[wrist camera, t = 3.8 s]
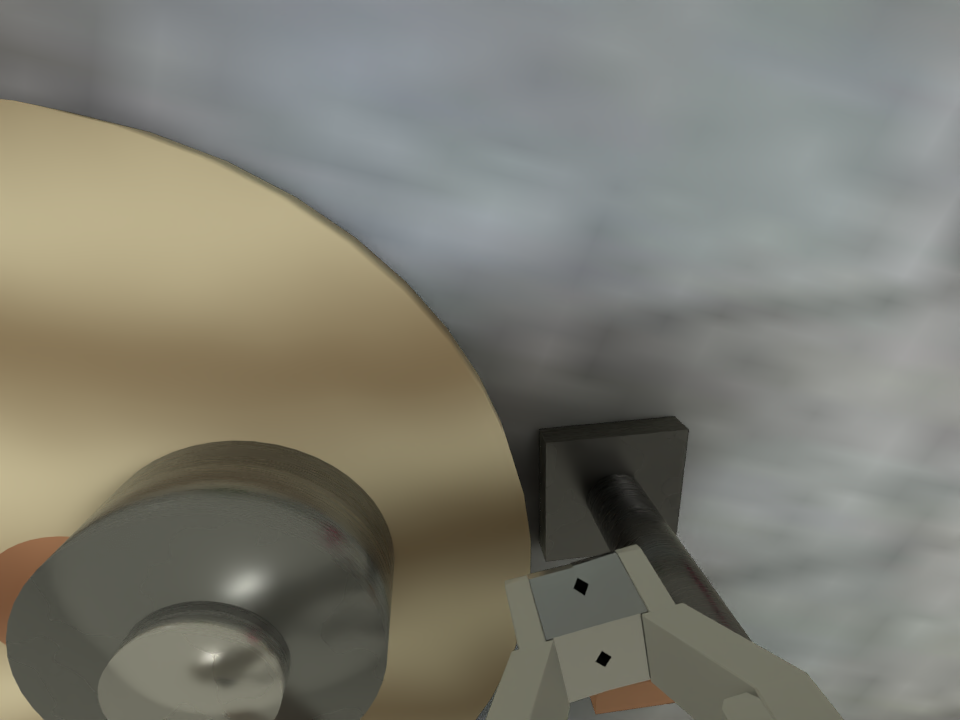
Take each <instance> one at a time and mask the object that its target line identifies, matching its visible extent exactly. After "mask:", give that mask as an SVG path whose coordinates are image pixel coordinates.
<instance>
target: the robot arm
mask: <svg viewBox="0 0 960 720" xmlns="http://www.w3.org/2000/svg"><path fill="white" fill-rule="evenodd" d="M527 575H528V577H527ZM527 575H525V576H521V577H517V578H513V579H509V580H505V590H506V595H507V599H508V604H509V608H510V613H511V617H512V622H513V627H514V631H515V636H516V640H517V645H518V650H515V651H512V652H511V654H510V657H509V660H508V662H507V665H506V667H505V670H504V673H503V675H502V678H501V681H500V683H499V686H498V688H497V691H496V694H495V696H494V699H493V701H492V704H491V707H490V709H489V712H488V714H487V717H486V720H567V719H568V714H569V709H570V704H569V703H571V702H574V701H577V700H580V699H584V698H587V697H590V696H593V695H596V694H599V693H602V692H605V691H608V690H612V689H616V688H620V687H624V686H627V685H631V684H635V683H639V682H643V681H647V680H651V682H652V683H653V684H654V685H656V686H657V687H658V688H659V689H660V690H661V691H663V692H664V693H665V694H666V695H667V696H668V697H670V698H671V699H672V700H673V701H674V702H675V703H677V704H678V705H679V706H680V707H681V708H682V709H683V710H685V711H686V712H687V713H688V714H689V715H690V716H692V717H693V718H694V719H695V720H844V719H843V718H842V717H841V716H840V714H839V713H838V712H837V711H836V709H835V708H834V707H833V706H832V704H831V703H830V702H829V701H828V699H827V698H826V697H825V696H824V694H823V693H822V692H821V690H820V689H819V688H818V687H817V685H816V684H815V683H814V682H813V680H812V679H811V678H810V677H809V675H808V674H807V673H806V672H804V671H802V670H800V669H799V668H797V667H795V666H793V665H792V664H790V663H788V662H786V661H784V660H783V659H781V658H779V657H777V656H776V655H774V654H772V653H770V652H769V651H767V650H765V649H763V648H762V647H760V646H758V645H756V644H754V643H753V642H751V641H749V640H747V639H746V638H744V637H742V636H740V635H739V634H737V633H735V632H733V631H732V630H730V629H728V628H726V627H725V626H723V625H721V624H719V623H717V622H716V621H714V620H712V619H710V618H709V617H707V616H705V615H703V614H702V613H700V612H698V611H696V610H695V609H693V608H691V607H689V606H687V605H686V604H684V603H680V604H675V603H674V601H673V599H672V598H671V596H670V595H669V593H668V591H667V590H666V588H665V586H664V585H663V583H662V582H661V580H660V578H659V577H658V575H657V574H656V572H655V570H654V569H653V567H652V565H651V564H650V562H649V561H648V559H647V557H646V556H645V554H644V553H643V551H642V549H641V548H640V547H639V546H638V545H637V544H635V545H631V546H628V547H624V548H621V549H617V550H614V551H610V552H607V553H603V554H600V555H596V556H593V557H590V558H586V559H583V560H579V561H576V562H573V563H570V564H567V565H563V566H559V567H555V568H551V569H547V570H543V571H539V572H535V573H531V574H527Z"/></svg>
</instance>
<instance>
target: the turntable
mask: <svg viewBox="0 0 960 720" xmlns="http://www.w3.org/2000/svg"><path fill="white" fill-rule="evenodd" d="M221 441H257V442H263V443H270V444H277V445H281V446H285V447H288V448H292V449H296V450H299V451H302V452H304V453H307V454H309V455H312V456H315V457H317V458H319V459H321V460H323V461H325V462H327V463H329V464H330V465H332V466H334V467H336V468H337V469H339V470H340V471H341V472H343V473H344V474H346V475H347V476H349V477H350V478H351V479H352V480H353V481H355V482H356V483H357V484H358V485H359V486H360V487H361V488H363V490H364V491H365V492H366V493H367V494H368V495H369V496H370V498H371V499H372V500H373V501H374V502H375V504H376V505H377V507H378V508H379V510H380V512H381V513H382V515H383V517H384V519H385V521H386V523H387V525H388V528H389V530H390V534H391V537H392V541H393V546H394V556H395V562H394V577H393V590H392V603H391V616H390V628H389V641H388V654H387V666H386V671H385V675H384V679H383V682H382V685H381V687H380V689H379V692H378V694H377V696H376V698H375V700H374V701H373V703H372V704H371V706H370V708H369V709H368V711H367V712H366V713H365V714H364V715H363V716H362V718H361V719H360V720H476V719H477V717H478V716H479V714H480V713H481V712H482V710H483V709H484V707H485V706H486V705H487V703H488V702H489V701H490V699H491V698H492V696H493V694H494V692H495V690H496V688H497V686H498V684H499V683H500V681H501V678H502V675H503V673H504V670H505V667H506V665H507V662H508V660H509V657H510V654H511V652H512V651H514V649H515V647H516V644H517V640H516V636H515V631H514V627H513V622H512V617H511V613H510V608H509V604H508V599H507V595H506V590H505V580H509V579H513V578H517V577H521V576H525V575H527V574H530V561H531V539H530V532H529V525H528V519H527V512H526V505H525V498H524V493H523V490H522V487H521V484H520V480H519V477H518V474H517V471H516V468H515V464H514V461H513V458H512V455H511V452H510V449H509V445H508V442H507V439H506V436H505V433H504V430H503V427H502V423H501V421H500V419H499V416H498V414H497V412H496V410H495V408H494V406H493V404H492V402H491V400H490V398H489V396H488V394H487V392H486V390H485V388H484V386H483V383H482V381H481V379H480V377H479V375H478V374H477V372H476V371H475V369H474V368H473V366H472V365H471V363H470V362H469V360H468V359H467V357H466V356H465V354H464V353H463V351H462V350H461V348H460V347H459V345H458V344H457V342H456V341H455V339H454V338H453V336H452V335H451V333H450V332H449V330H448V329H447V328H446V327H445V325H444V324H443V323H442V322H441V321H440V320H439V319H438V318H437V316H436V315H435V314H434V313H433V312H432V311H431V310H430V308H429V307H428V306H427V305H426V304H425V303H424V302H423V301H422V299H421V298H420V297H419V296H418V295H417V294H416V293H415V292H414V290H413V289H412V288H411V287H410V286H409V285H408V284H407V283H406V282H405V281H404V280H403V279H402V278H401V277H400V276H399V275H397V274H396V273H395V272H394V271H393V270H392V269H391V268H389V267H388V266H387V265H386V264H385V263H384V262H383V261H381V260H380V259H379V258H378V257H377V256H376V255H375V254H373V253H372V252H371V251H370V250H369V249H368V248H367V247H365V246H364V245H363V244H362V243H361V242H360V241H359V240H357V239H356V238H355V237H354V236H352V235H351V234H349V233H348V232H346V231H345V230H343V229H342V228H340V227H339V226H337V225H336V224H335V223H333V222H332V221H330V220H329V219H327V218H326V217H324V216H323V215H321V214H320V213H318V212H317V211H315V210H314V209H312V208H311V207H310V206H308V205H307V204H305V203H304V202H302V201H301V200H299V199H298V198H296V197H295V196H293V195H291V194H289V193H287V192H285V191H283V190H281V189H279V188H277V187H275V186H273V185H272V184H270V183H268V182H266V181H264V180H262V179H260V178H258V177H256V176H254V175H252V174H250V173H248V172H246V171H245V170H243V169H241V168H239V167H237V166H235V165H233V164H231V163H229V162H227V161H225V160H222V159H220V158H217V157H214V156H212V155H209V154H206V153H204V152H201V151H198V150H196V149H193V148H190V147H188V146H185V145H183V144H180V143H177V142H175V141H172V140H169V139H167V138H164V137H161V136H159V135H156V134H153V133H151V132H147V131H143V130H139V129H135V128H131V127H127V126H123V125H119V124H115V123H111V122H107V121H103V120H99V119H95V118H91V117H87V116H83V115H79V114H75V113H71V112H66V111H62V110H57V109H52V108H47V107H42V106H37V105H33V104H28V103H23V102H18V101H12V100H4V99H0V720H44V719H43V718H42V717H41V716H40V715H39V714H38V713H37V712H36V711H35V710H34V709H33V708H32V706H31V705H30V704H29V702H28V701H27V700H26V698H25V697H24V695H23V694H22V693H21V691H20V689H19V687H18V685H17V683H16V681H15V679H14V677H13V675H12V671H11V668H10V665H9V661H8V658H7V647H6V633H7V624H8V619H9V616H10V613H11V610H12V607H13V604H14V602H15V600H16V598H17V596H18V595H19V593H20V591H21V589H22V587H23V586H24V585H25V583H26V582H27V581H28V580H29V578H30V577H31V576H32V575H33V574H34V572H35V571H36V570H37V569H38V568H39V567H40V566H41V565H42V564H43V563H44V562H45V561H46V560H47V559H48V558H49V557H50V556H51V555H52V554H53V553H54V552H55V551H56V550H57V549H58V548H59V547H60V546H61V545H62V544H63V543H64V542H65V541H66V540H67V539H68V538H69V537H70V536H71V535H72V534H73V533H74V532H75V531H76V530H77V529H78V528H79V527H80V526H81V525H82V524H83V523H84V522H85V521H86V520H87V519H88V518H89V517H90V516H91V515H92V514H93V513H94V512H95V511H96V510H97V509H99V508H100V507H101V506H102V505H103V504H104V503H105V502H106V501H107V500H108V499H109V498H110V497H111V496H112V495H113V494H114V493H115V492H116V491H117V490H118V489H119V488H120V487H121V486H122V485H123V484H124V483H125V482H126V481H127V480H128V479H129V478H130V477H132V476H133V475H134V474H135V473H136V472H137V471H139V470H140V469H142V468H143V467H145V466H146V465H148V464H150V463H151V462H153V461H154V460H156V459H159V458H161V457H163V456H165V455H167V454H169V453H172V452H174V451H178V450H181V449H184V448H187V447H190V446H194V445H200V444H205V443H210V442H221ZM527 577H528V575H527Z"/></svg>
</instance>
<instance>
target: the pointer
mask: <svg viewBox="0 0 960 720" xmlns="http://www.w3.org/2000/svg"><path fill="white" fill-rule="evenodd" d="M688 433H689V429H688V428H687V427H686V426H685V425H683V424H682V423H681V422H680V421H679V420H678V419H677V418H676V417H675V416H674V417H663V418H653V419H642V420H631V421H621V422H610V423H599V424H588V425H578V426H567V427H556V428H546V429H539V493H540V545H541V548H542V552H543V555H544V558H545V561H554V560H563V559H571V558H580V557H588V556H596V555H600V554H603V553H607V552H610V551H614V550H617V549H621V548H624V547H628V546H631V545H635V544H637V545H638V546H639V547H640V548H641V549H642V551H643V553H644V554H645V556H646V557H647V559H648V561H649V562H650V564H651V565H652V567H653V569H654V570H655V572H656V574H657V575H658V577H659V578H660V580H661V582H662V583H663V585H664V586H665V588H666V590H667V591H668V593H669V595H670V596H671V598H672V599H673V601H674V603H675V604H680V603H684V604H686V605H687V606H689V607H691V608H693V609H695V610H696V611H698V612H700V613H702V614H703V615H705V616H707V617H709V618H710V619H712V620H714V621H716V622H717V623H719V624H721V625H723V626H725V627H726V628H728V629H730V630H732V631H733V632H735V633H737V634H739V635H740V636H742V637H744V638H746V639H747V640H749V641H751V640H750V638H749V637H748V635H747V634H746V633H745V631H744V630H743V628H742V627H741V626H740V624H739V623H738V621H737V620H736V619H735V617H734V616H733V614H732V613H731V612H730V610H729V609H728V608H727V606H726V605H725V603H724V602H723V601H722V599H721V598H720V596H719V595H718V594H717V592H716V591H715V589H714V588H713V587H712V585H711V584H710V582H709V581H708V580H707V578H706V577H705V575H704V574H703V573H702V571H701V570H700V568H699V567H698V566H697V564H696V563H695V561H694V560H693V559H692V557H691V556H690V554H689V553H688V552H687V550H686V549H685V547H684V546H683V545H682V543H681V542H680V540H679V539H678V538H677V536H676V534H677V525H678V517H679V509H680V500H681V492H682V484H683V475H684V467H685V458H686V450H687V442H688ZM751 642H752V641H751ZM590 698H591V701H592V705H593V708H594V711H595V714H601V713H608V712H615V711H622V710H629V709H636V708H643V707H649V706H656V705H663V704H670V703H675V702H674V701H673V700H672V699H671V698H670V697H668V696H667V695H666V694H665V693H664V692H663V691H661V690H660V689H659V688H658V687H657V686H656V685H654V684H653V683H652V682H651V680H647V681H643V682H639V683H635V684H631V685H627V686H624V687H620V688H616V689H612V690H608V691H605V692H602V693H599V694H596V695H593V696H590Z"/></svg>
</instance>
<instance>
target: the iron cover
mask: <svg viewBox="0 0 960 720" xmlns="http://www.w3.org/2000/svg"><path fill="white" fill-rule="evenodd" d="M394 562H395V556H394V546H393V541H392V537H391V534H390V530H389V528H388V525H387V523H386V521H385V519H384V517H383V515H382V513H381V512H380V510H379V508H378V507H377V505H376V504H375V502H374V501H373V500H372V499H371V498H370V496H369V495H368V494H367V493H366V492H365V491H364V490H363V488H361V487H360V486H359V485H358V484H357V483H356V482H355V481H353V480H352V479H351V478H350V477H349V476H347V475H346V474H344V473H343V472H341V471H340V470H339V469H337V468H336V467H334V466H332V465H330V464H329V463H327V462H325V461H323V460H321V459H319V458H317V457H315V456H312V455H309V454H307V453H304V452H302V451H299V450H296V449H292V448H288V447H285V446H281V445H277V444H270V443H263V442H257V441H221V442H210V443H205V444H200V445H194V446H190V447H187V448H184V449H181V450H178V451H174V452H172V453H169V454H167V455H165V456H163V457H161V458H159V459H156V460H154V461H153V462H151V463H150V464H148V465H146V466H145V467H143V468H142V469H140V470H139V471H137V472H136V473H135V474H134V475H133V476H132V477H130V478H129V479H128V480H127V481H126V482H125V483H124V484H123V485H122V486H121V487H120V488H119V489H118V490H117V491H116V492H115V493H114V494H113V495H112V496H111V497H110V498H109V499H108V500H107V501H106V502H105V503H104V504H103V505H102V506H101V507H100V508H99V509H97V510H96V511H95V512H94V513H93V514H92V515H91V516H90V517H89V518H88V519H87V520H86V521H85V522H84V523H83V524H82V525H81V526H80V527H79V528H78V529H77V530H76V531H75V532H74V533H73V534H72V535H71V536H70V537H69V538H68V539H67V540H66V541H65V542H64V543H63V544H62V545H61V546H60V547H59V548H58V549H57V550H56V551H55V552H54V553H53V554H52V555H51V556H50V557H49V558H48V559H47V560H46V561H45V562H44V563H43V564H42V565H41V566H40V567H39V568H38V569H37V570H36V571H35V572H34V574H33V575H32V576H31V577H30V578H29V580H28V581H27V582H26V583H25V585H24V586H23V587H22V589H21V591H20V593H19V595H18V596H17V598H16V600H15V602H14V604H13V607H12V610H11V613H10V616H9V619H8V624H7V633H6V647H7V658H8V661H9V665H10V668H11V671H12V675H13V677H14V679H15V681H16V683H17V685H18V687H19V689H20V691H21V693H22V694H23V695H24V697H25V698H26V700H27V701H28V702H29V704H30V705H31V706H32V708H33V709H34V710H35V711H36V712H37V713H38V714H39V715H40V716H41V717H42V718H43V719H44V720H360V719H361V718H362V716H363V715H364V714H365V713H366V712H367V711H368V709H369V708H370V706H371V704H372V703H373V701H374V700H375V698H376V696H377V694H378V692H379V689H380V687H381V685H382V682H383V679H384V675H385V671H386V666H387V654H388V641H389V628H390V616H391V603H392V590H393V577H394Z"/></svg>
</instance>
